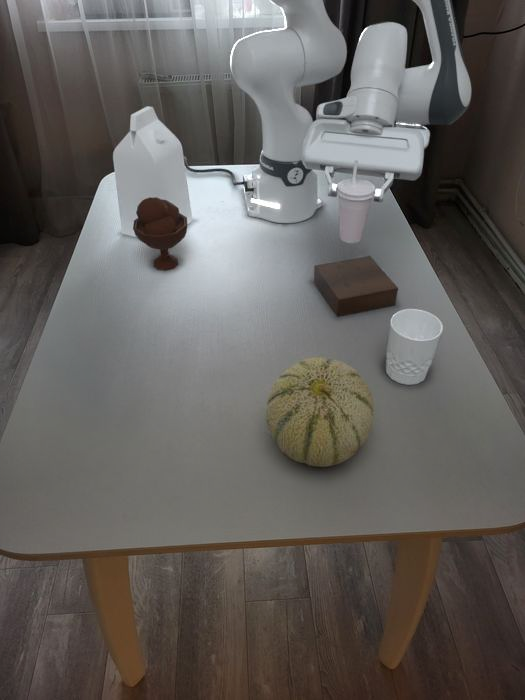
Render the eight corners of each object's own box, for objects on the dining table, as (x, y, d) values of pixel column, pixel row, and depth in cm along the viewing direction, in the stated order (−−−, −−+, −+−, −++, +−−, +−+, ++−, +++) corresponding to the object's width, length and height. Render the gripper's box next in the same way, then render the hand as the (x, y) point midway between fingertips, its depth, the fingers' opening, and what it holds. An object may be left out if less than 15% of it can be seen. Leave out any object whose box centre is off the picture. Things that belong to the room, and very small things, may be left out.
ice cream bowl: (183, 280, 112) (175, 212, 103) (131, 274, 114) (119, 206, 104) (198, 253, 120) (192, 187, 110) (149, 247, 122) (139, 182, 112)
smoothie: (341, 225, 102) (349, 150, 93) (374, 234, 100) (385, 158, 90) (326, 241, 98) (332, 164, 89) (360, 250, 96) (370, 172, 86)
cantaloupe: (339, 398, 88) (349, 323, 78) (386, 469, 77) (404, 394, 67) (251, 422, 84) (249, 347, 74) (287, 501, 73) (291, 426, 63)
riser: (313, 282, 112) (314, 265, 109) (367, 272, 115) (369, 255, 112) (337, 317, 103) (339, 299, 101) (395, 305, 106) (398, 288, 103)
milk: (151, 211, 135) (135, 98, 118) (192, 220, 131) (182, 106, 114) (122, 233, 127) (100, 116, 110) (165, 244, 123) (149, 124, 106)
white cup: (372, 362, 94) (381, 315, 87) (412, 350, 96) (423, 304, 89) (398, 393, 88) (409, 345, 82) (439, 380, 90) (453, 332, 84)
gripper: (430, 133, 95) (416, 211, 94) (312, 122, 99) (298, 197, 98) (434, 114, 89) (419, 199, 88) (308, 104, 93) (293, 184, 92)
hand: (354, 198), depth 93 cm, fingers closed on smoothie, 6 cm apart
